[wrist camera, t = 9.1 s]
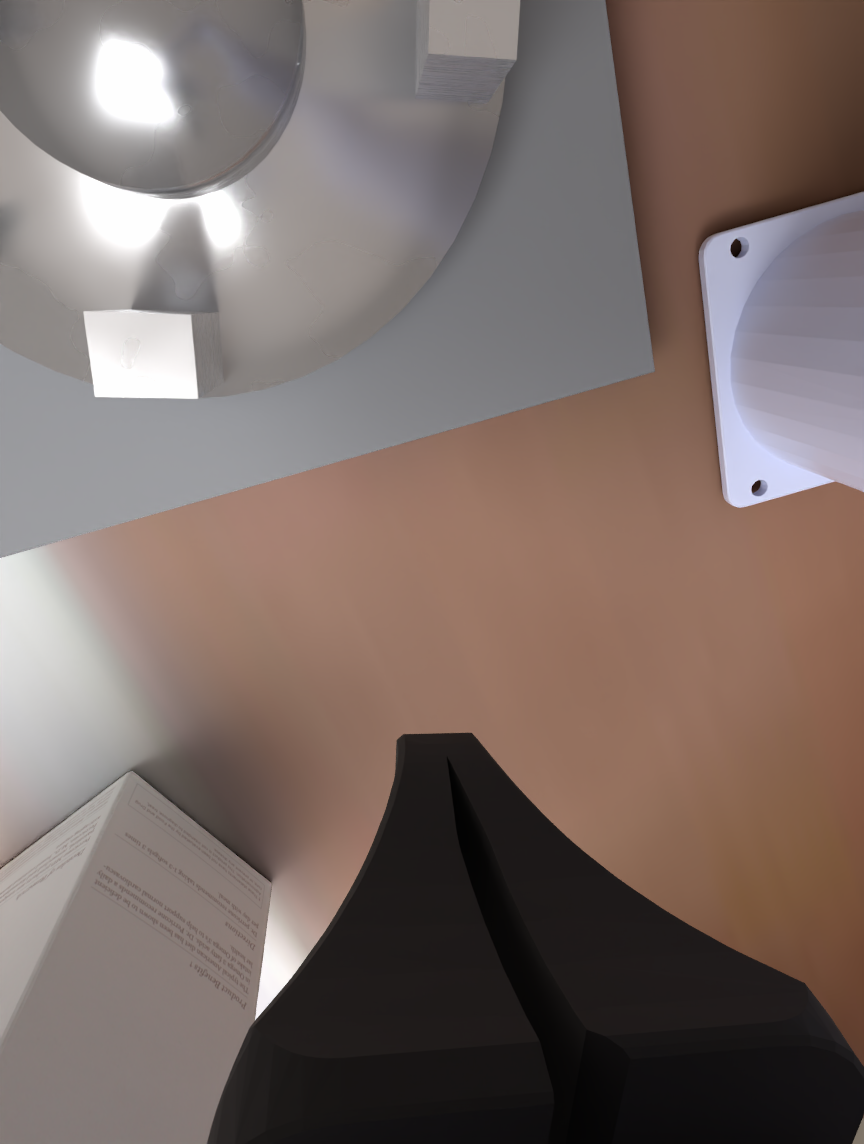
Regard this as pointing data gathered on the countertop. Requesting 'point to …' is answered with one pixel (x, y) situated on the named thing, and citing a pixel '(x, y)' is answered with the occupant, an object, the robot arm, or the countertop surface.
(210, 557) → the countertop surface
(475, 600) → the countertop surface
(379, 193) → the domed lug disc
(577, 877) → the robot arm
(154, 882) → the supplement box
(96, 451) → the cap plate
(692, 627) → the countertop surface
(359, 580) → the countertop surface
